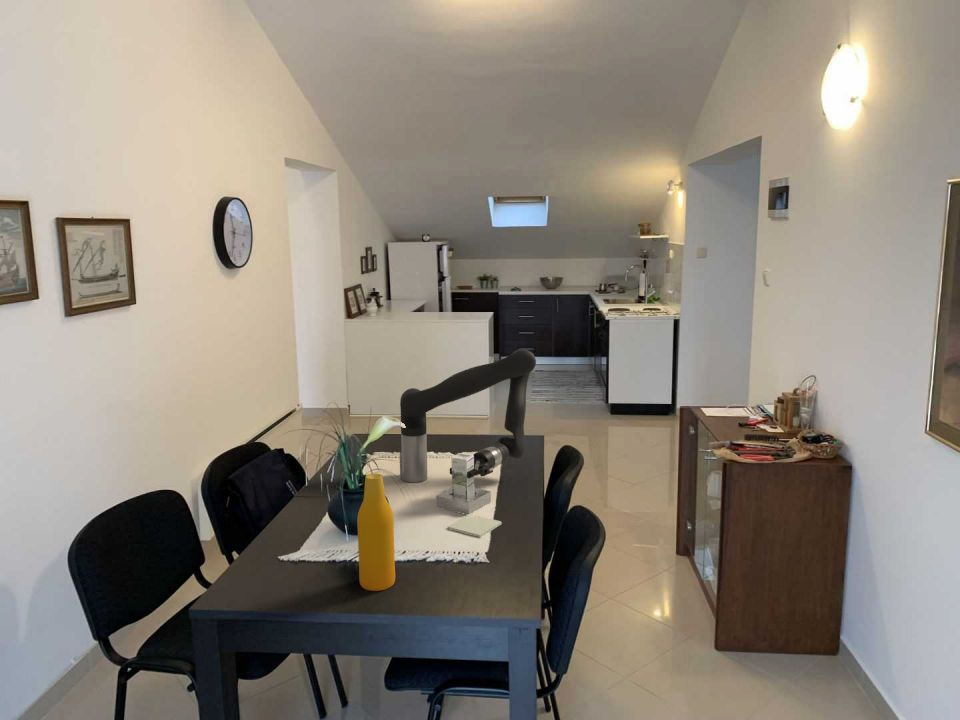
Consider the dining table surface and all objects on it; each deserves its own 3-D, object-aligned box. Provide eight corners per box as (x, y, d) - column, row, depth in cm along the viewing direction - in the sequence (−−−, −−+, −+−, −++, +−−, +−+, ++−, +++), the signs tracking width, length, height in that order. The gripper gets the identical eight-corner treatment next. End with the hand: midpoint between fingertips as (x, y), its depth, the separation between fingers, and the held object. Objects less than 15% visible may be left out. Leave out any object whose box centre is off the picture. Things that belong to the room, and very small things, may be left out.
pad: (447, 528, 224) (447, 526, 223) (469, 516, 233) (469, 513, 233) (480, 537, 217) (480, 535, 217) (501, 524, 227) (501, 521, 227)
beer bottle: (356, 592, 185) (352, 482, 180) (362, 575, 194) (358, 470, 189) (393, 591, 185) (390, 482, 180) (397, 574, 194) (394, 470, 189)
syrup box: (475, 495, 244) (474, 453, 241) (467, 501, 239) (466, 459, 236) (459, 493, 246) (458, 451, 244) (451, 499, 241) (450, 457, 239)
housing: (436, 507, 241) (436, 495, 240) (458, 495, 252) (458, 484, 251) (469, 515, 234) (468, 503, 233) (490, 502, 245) (490, 491, 244)
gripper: (469, 446, 256) (441, 458, 242) (504, 452, 248) (477, 466, 234) (469, 466, 257) (441, 480, 244) (504, 473, 250) (477, 488, 236)
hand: (459, 473), depth 239 cm, fingers closed on syrup box, 6 cm apart
